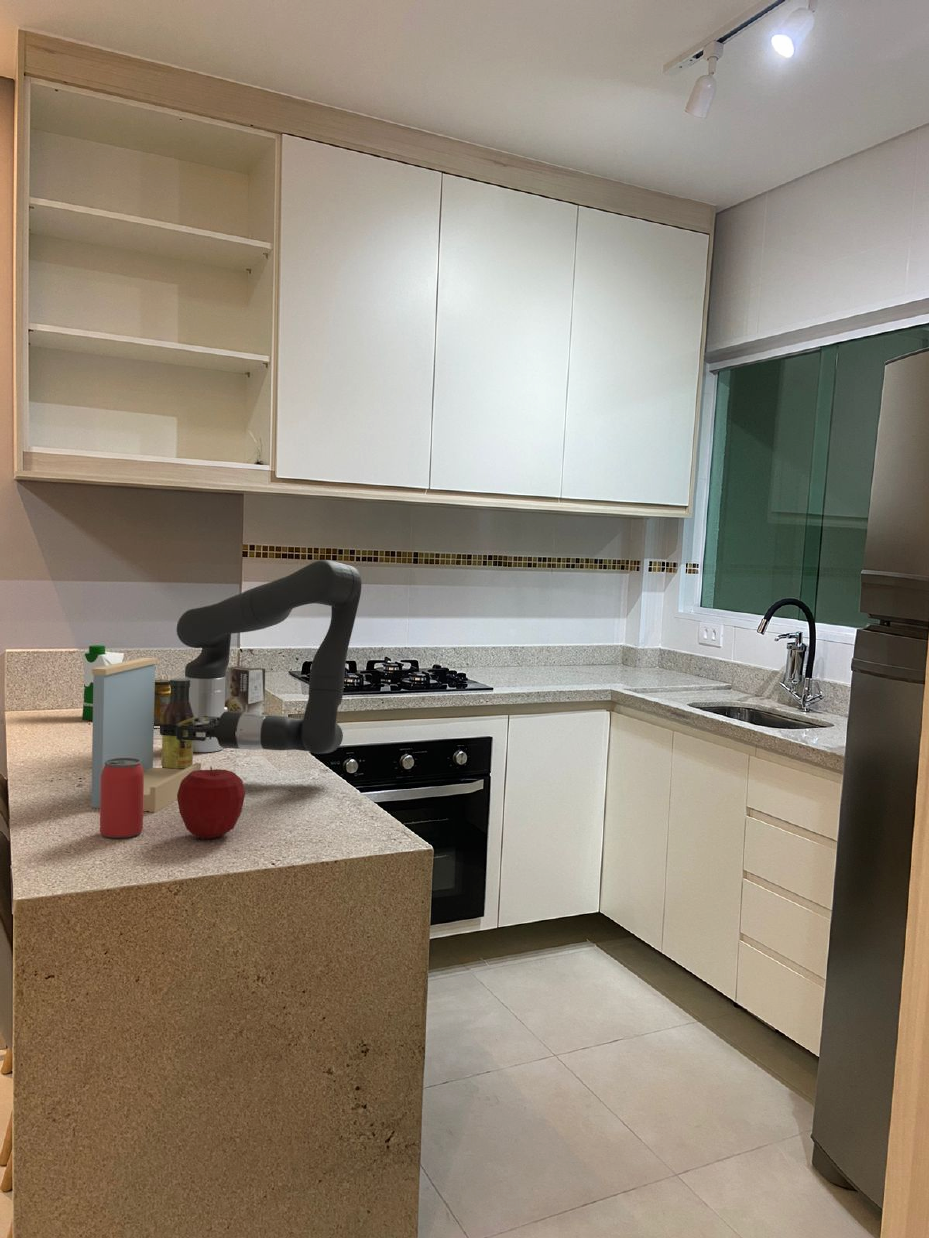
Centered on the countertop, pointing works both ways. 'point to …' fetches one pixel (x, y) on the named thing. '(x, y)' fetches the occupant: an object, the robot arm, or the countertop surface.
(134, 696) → the wall board
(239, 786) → the apple
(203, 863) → the countertop surface
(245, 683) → the coffee box
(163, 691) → the condiment
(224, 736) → the robot arm
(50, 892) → the countertop surface
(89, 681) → the milk carton
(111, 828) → the beer can
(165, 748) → the sauce bottle
